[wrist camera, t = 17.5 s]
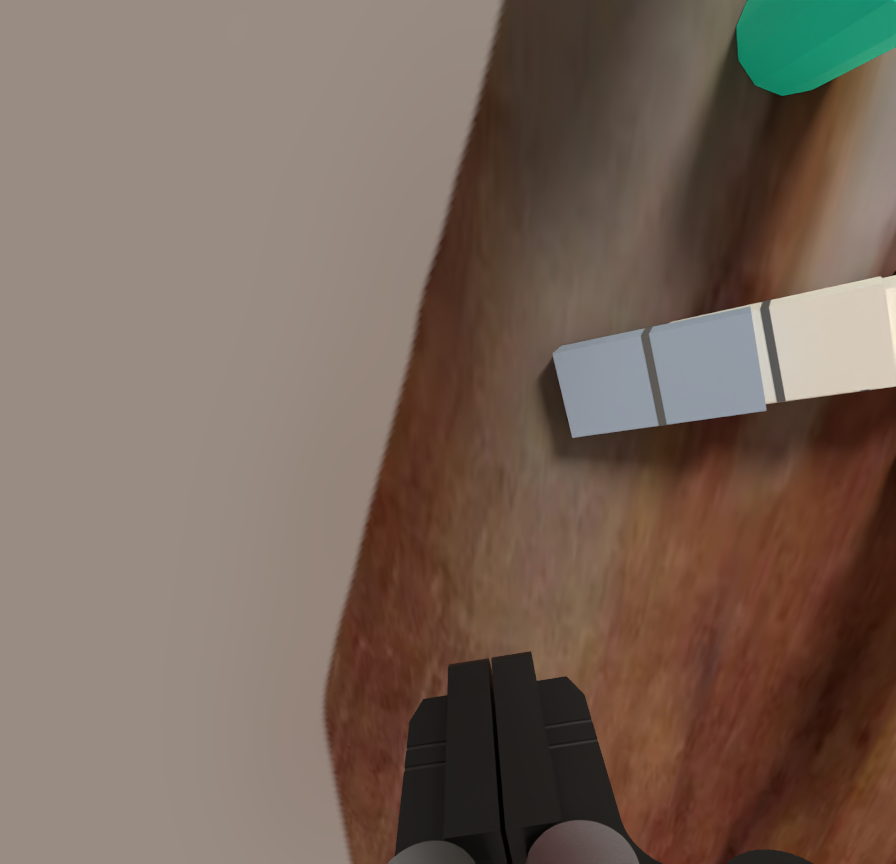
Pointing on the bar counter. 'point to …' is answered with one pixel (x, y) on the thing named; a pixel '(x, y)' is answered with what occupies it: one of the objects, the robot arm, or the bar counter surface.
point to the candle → (811, 40)
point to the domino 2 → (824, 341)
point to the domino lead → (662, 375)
